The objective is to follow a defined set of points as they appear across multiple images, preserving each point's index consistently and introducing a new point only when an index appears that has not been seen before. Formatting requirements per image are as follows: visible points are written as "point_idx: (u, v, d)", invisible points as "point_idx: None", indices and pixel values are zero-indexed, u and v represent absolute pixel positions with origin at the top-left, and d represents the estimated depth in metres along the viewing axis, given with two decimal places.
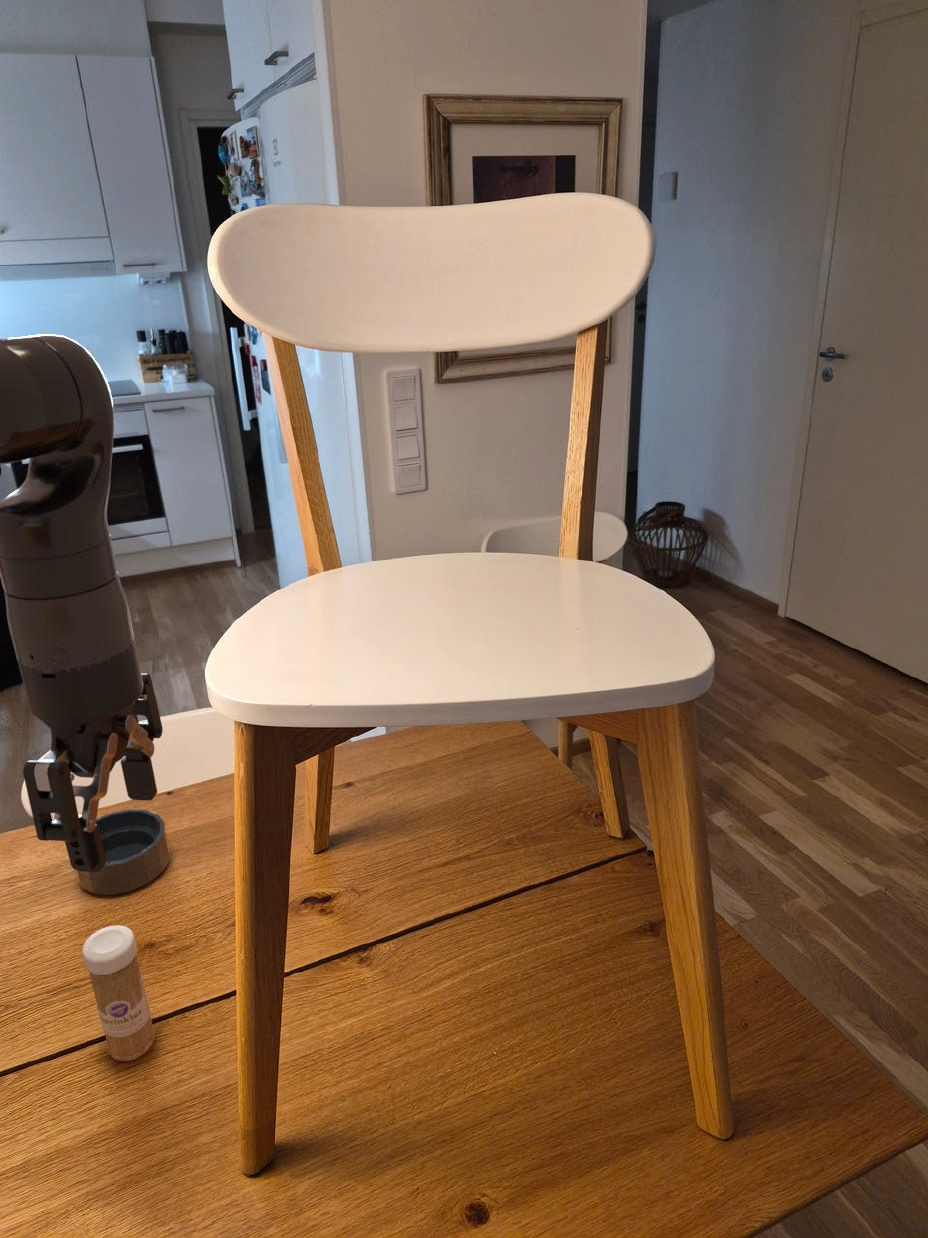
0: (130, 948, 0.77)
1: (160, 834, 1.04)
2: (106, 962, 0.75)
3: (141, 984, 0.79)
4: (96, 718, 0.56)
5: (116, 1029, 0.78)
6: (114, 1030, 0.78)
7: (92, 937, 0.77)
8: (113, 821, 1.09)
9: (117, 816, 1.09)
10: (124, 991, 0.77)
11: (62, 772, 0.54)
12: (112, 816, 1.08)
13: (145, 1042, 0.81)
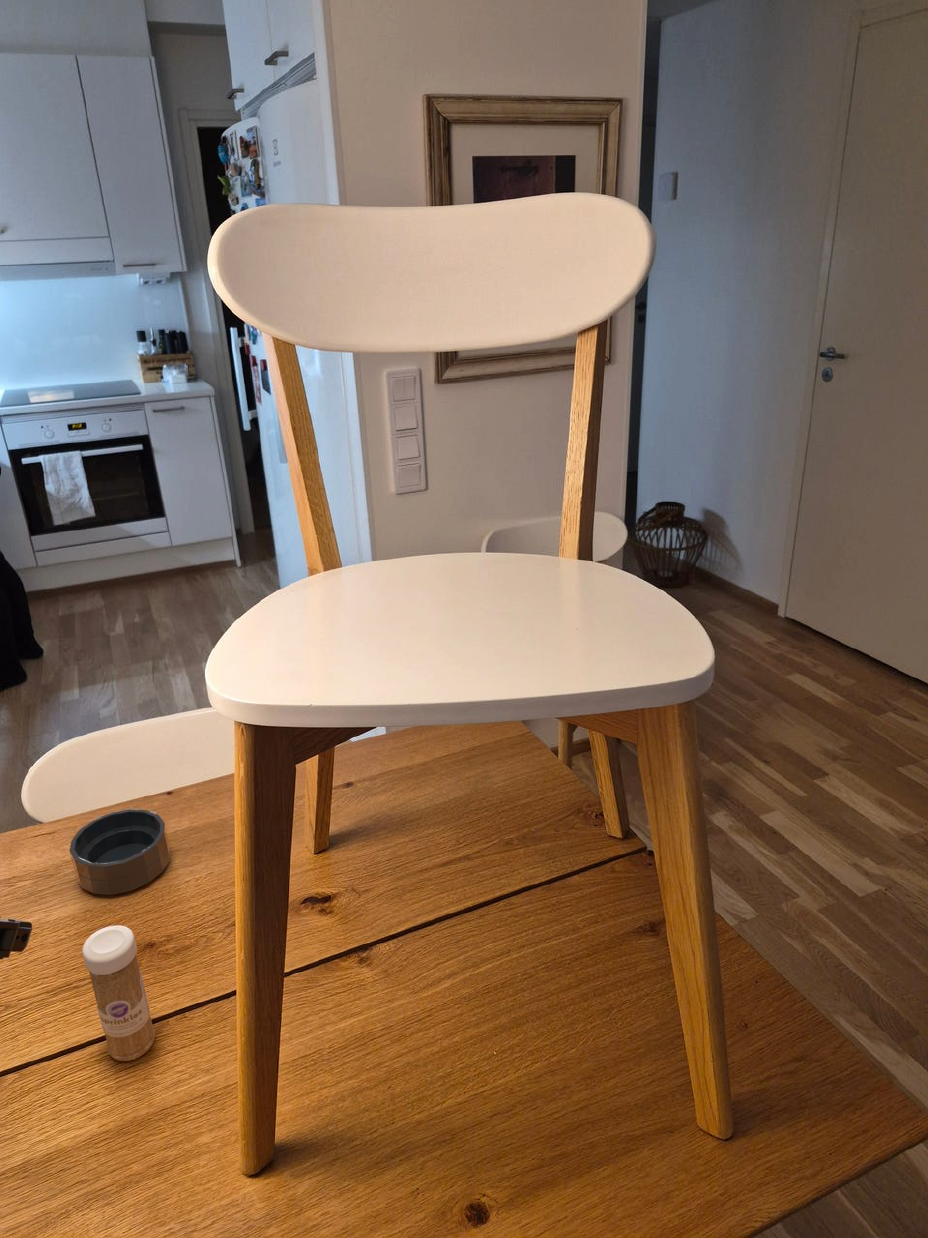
0: (130, 948, 0.77)
1: (160, 834, 1.04)
2: (106, 962, 0.75)
3: (141, 984, 0.79)
4: None
5: (116, 1029, 0.78)
6: (114, 1030, 0.78)
7: (92, 937, 0.77)
8: (113, 821, 1.09)
9: (117, 816, 1.09)
10: (124, 991, 0.77)
11: None
12: (112, 816, 1.08)
13: (145, 1042, 0.81)
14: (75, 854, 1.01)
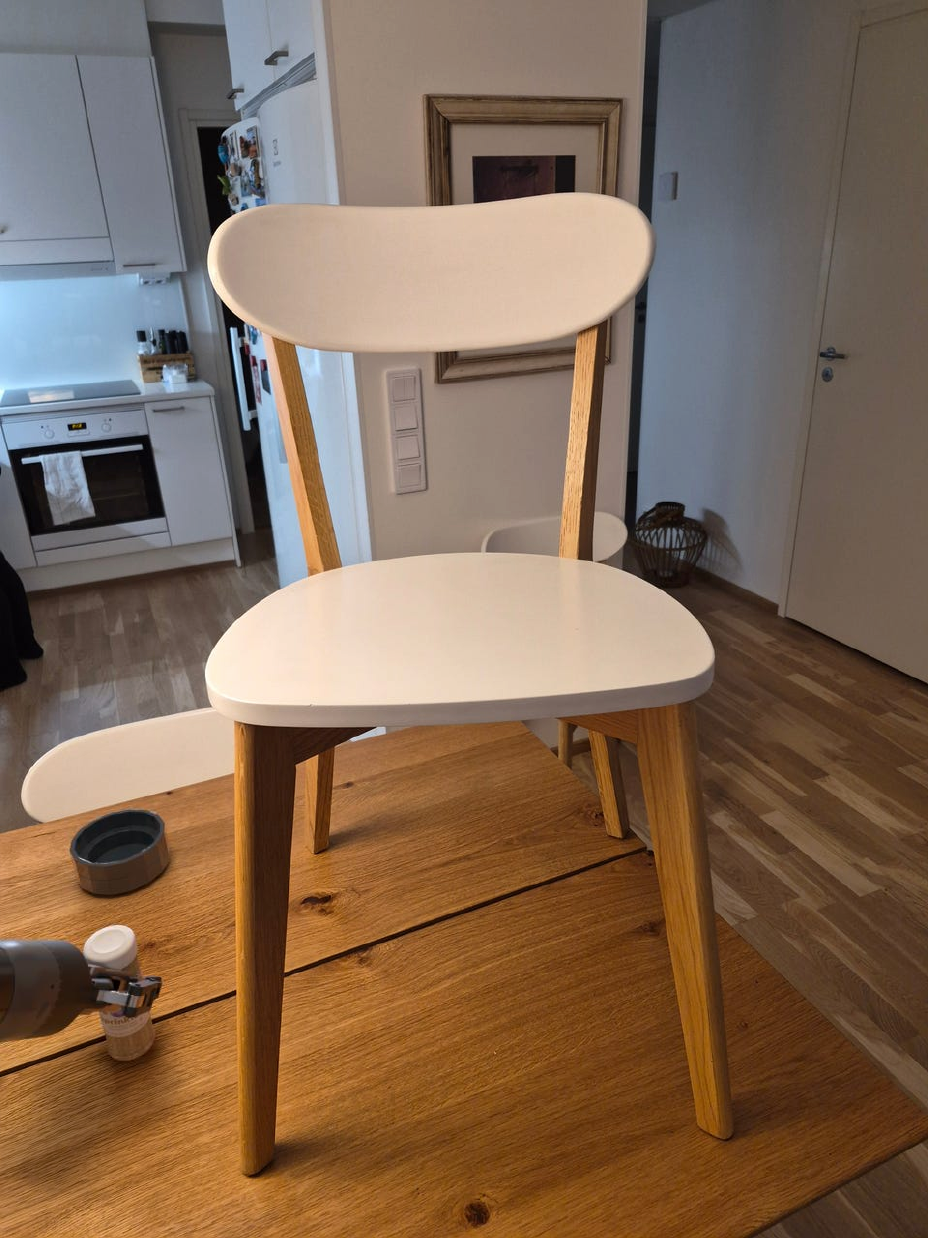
0: (130, 948, 0.77)
1: (160, 834, 1.04)
2: (107, 962, 0.75)
3: None
4: None
5: (116, 1028, 0.78)
6: (114, 1030, 0.78)
7: (93, 936, 0.77)
8: (113, 821, 1.09)
9: (117, 816, 1.09)
10: None
11: None
12: (112, 816, 1.08)
13: (145, 1042, 0.81)
14: (75, 854, 1.01)
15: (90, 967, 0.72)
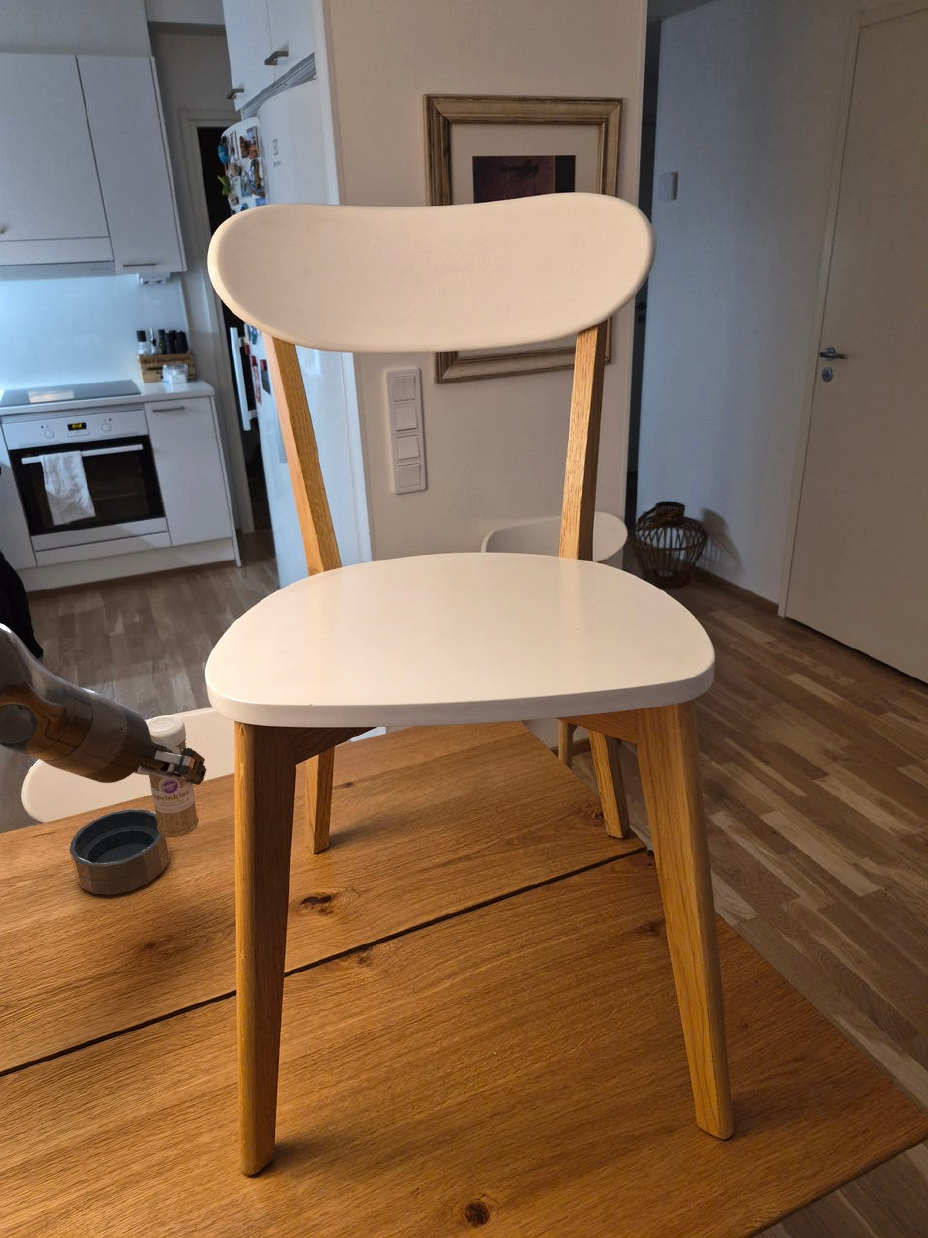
0: (181, 729, 0.88)
1: (160, 834, 1.04)
2: (161, 737, 0.86)
3: None
4: None
5: (166, 804, 0.90)
6: (165, 805, 0.90)
7: (148, 721, 0.89)
8: (113, 821, 1.09)
9: (117, 816, 1.09)
10: None
11: None
12: (112, 816, 1.08)
13: (190, 822, 0.92)
14: (75, 854, 1.01)
15: None
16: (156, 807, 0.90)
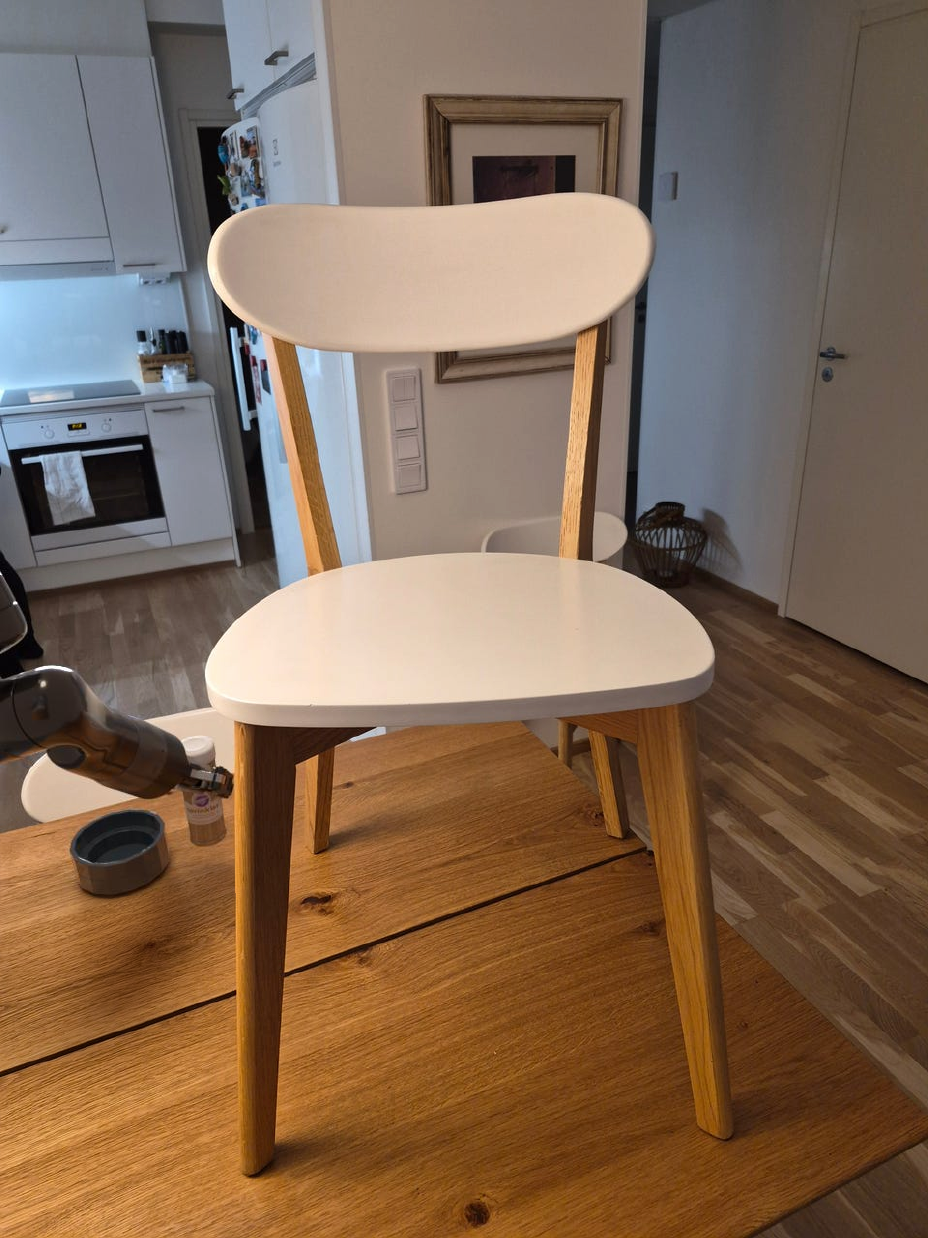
0: (211, 749, 0.97)
1: (160, 834, 1.04)
2: (194, 756, 0.96)
3: None
4: None
5: (198, 817, 0.99)
6: (197, 818, 0.99)
7: None
8: (113, 821, 1.09)
9: (117, 816, 1.09)
10: (206, 784, 0.98)
11: None
12: (112, 816, 1.08)
13: (220, 833, 1.01)
14: (75, 854, 1.01)
15: None
16: (189, 819, 1.00)
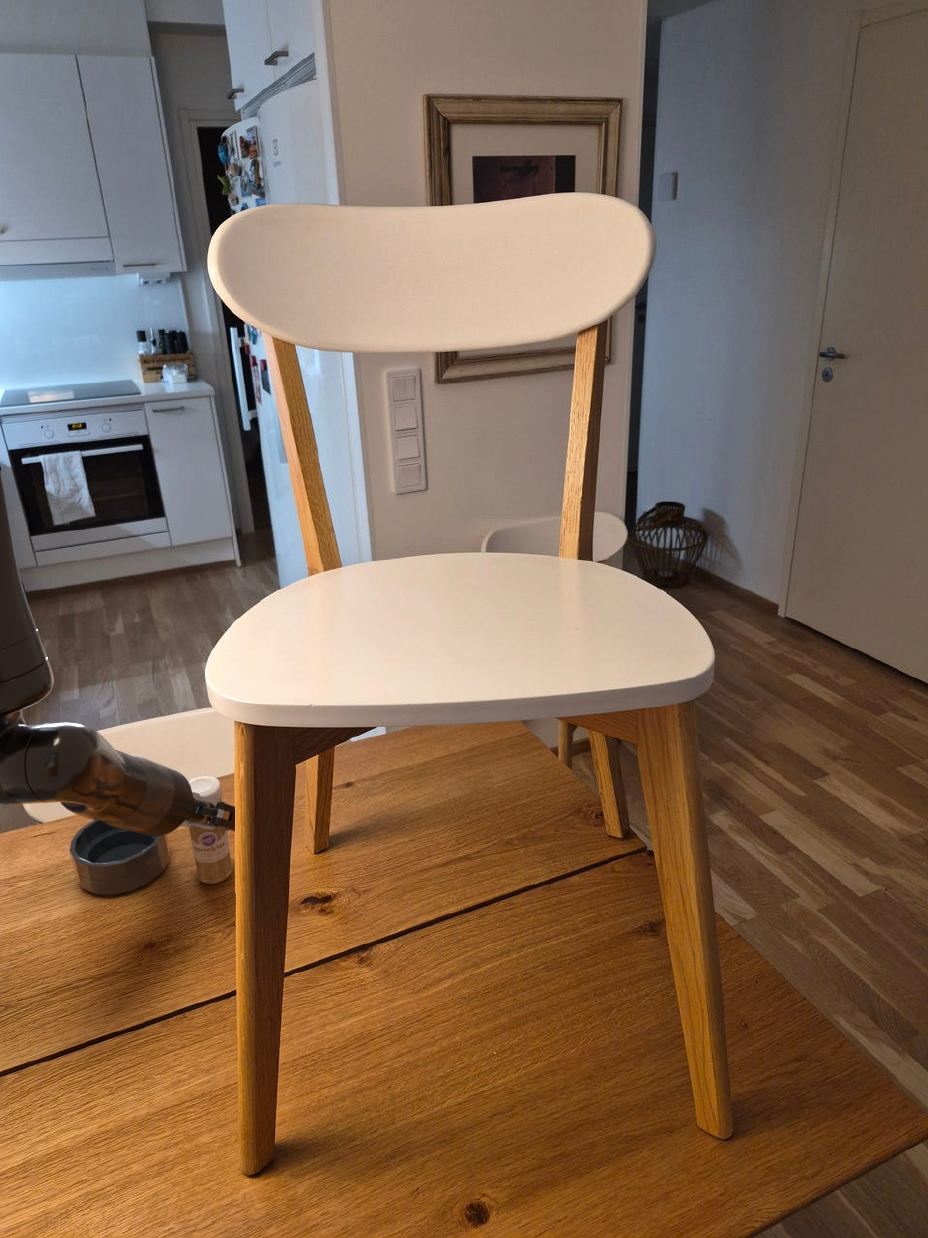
0: (218, 790, 0.99)
1: None
2: None
3: None
4: None
5: (205, 855, 1.01)
6: (204, 856, 1.01)
7: None
8: None
9: None
10: None
11: None
12: None
13: (226, 870, 1.04)
14: (75, 854, 1.01)
15: None
16: (196, 857, 1.02)
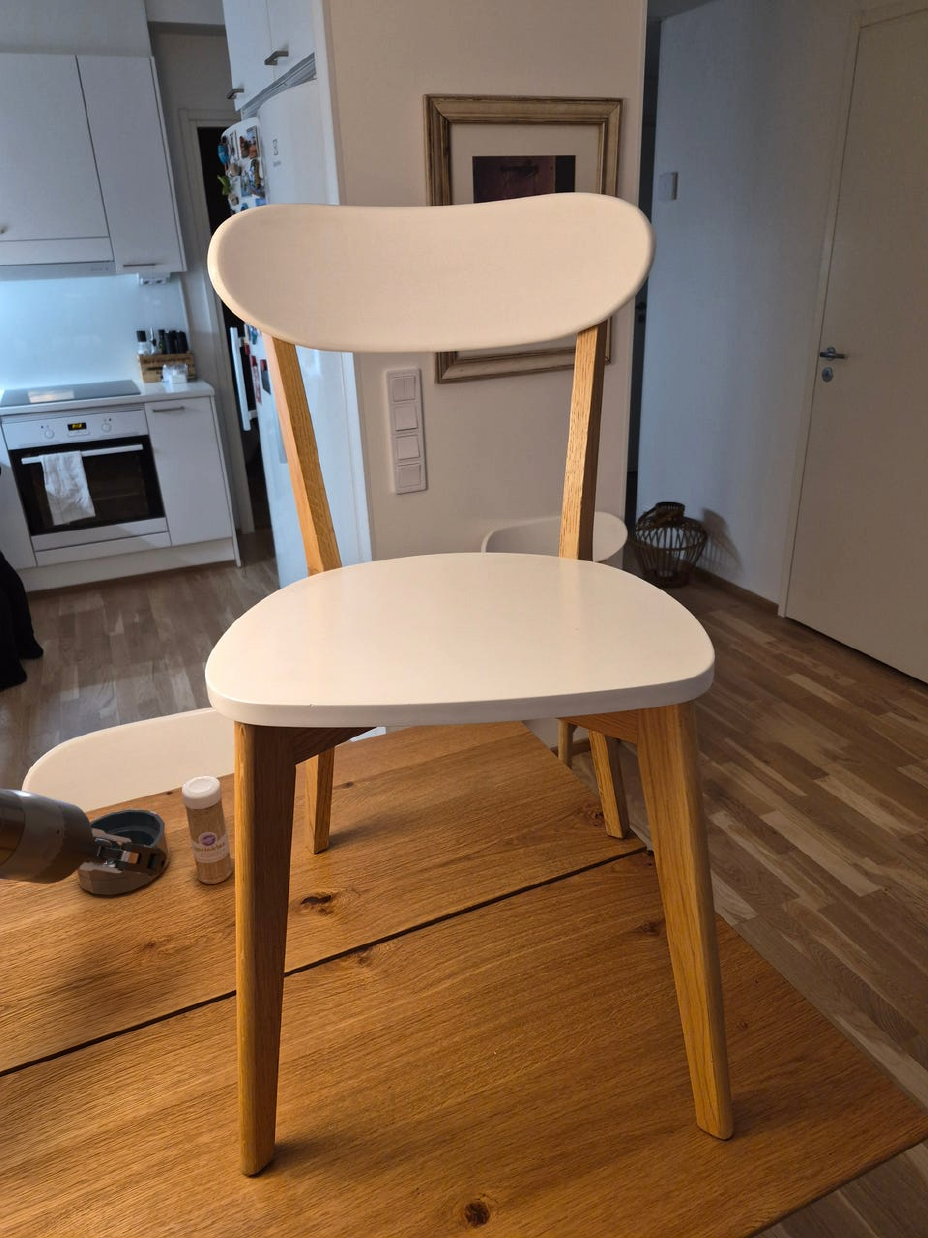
0: (218, 790, 0.99)
1: (160, 834, 1.04)
2: (201, 798, 0.98)
3: (224, 822, 1.02)
4: None
5: (205, 855, 1.01)
6: (204, 856, 1.01)
7: (188, 783, 1.00)
8: (113, 821, 1.09)
9: (117, 816, 1.09)
10: (213, 824, 1.00)
11: None
12: (112, 816, 1.08)
13: (226, 870, 1.04)
14: None
15: None
16: (196, 857, 1.02)
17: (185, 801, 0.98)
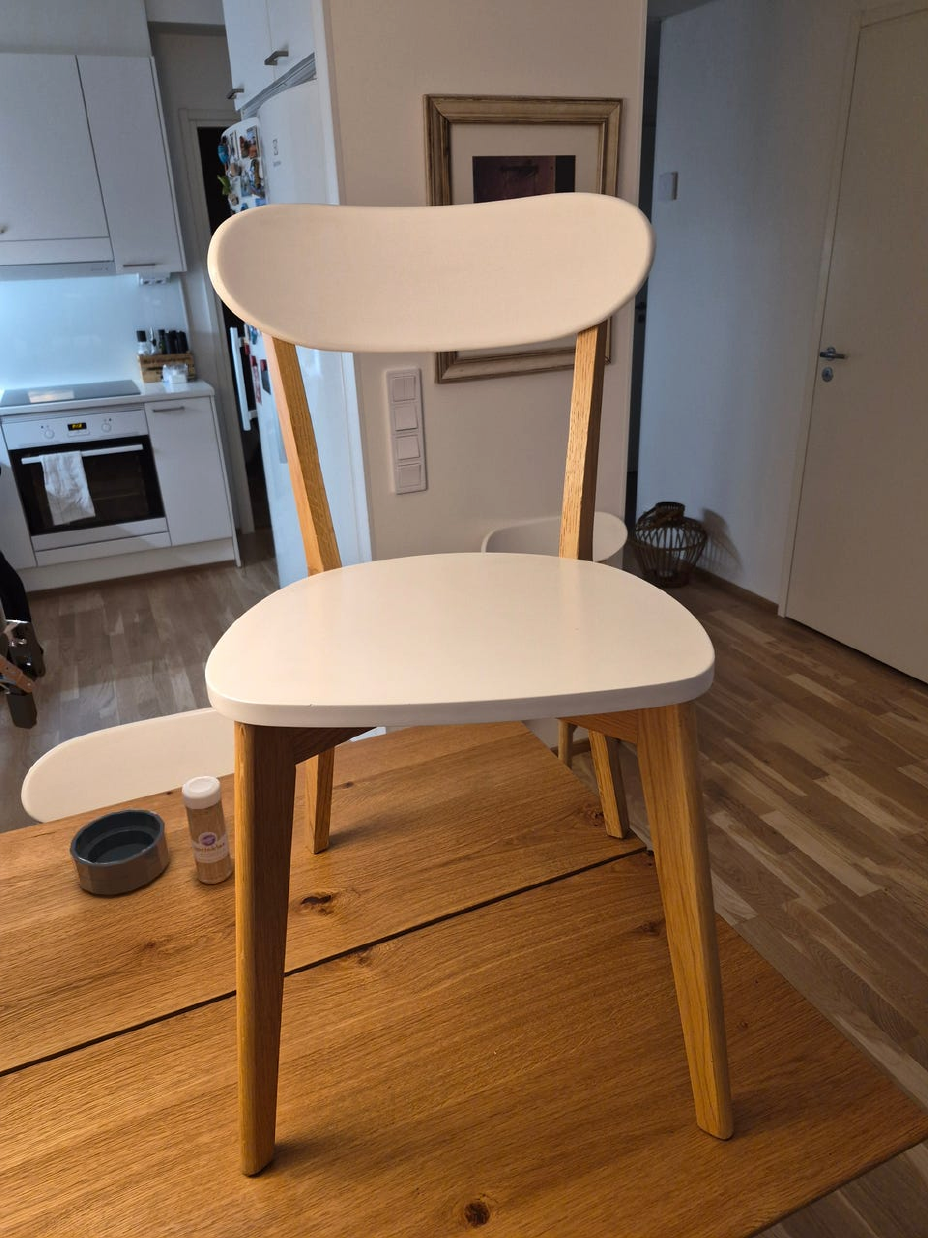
0: (218, 790, 0.99)
1: (160, 834, 1.04)
2: (201, 798, 0.98)
3: (224, 822, 1.02)
4: None
5: (205, 855, 1.01)
6: (204, 856, 1.01)
7: (188, 783, 1.00)
8: (113, 821, 1.09)
9: (117, 816, 1.09)
10: (213, 824, 1.00)
11: None
12: (112, 816, 1.08)
13: (226, 870, 1.04)
14: (75, 854, 1.01)
15: None
16: (196, 857, 1.02)
17: (185, 801, 0.98)
